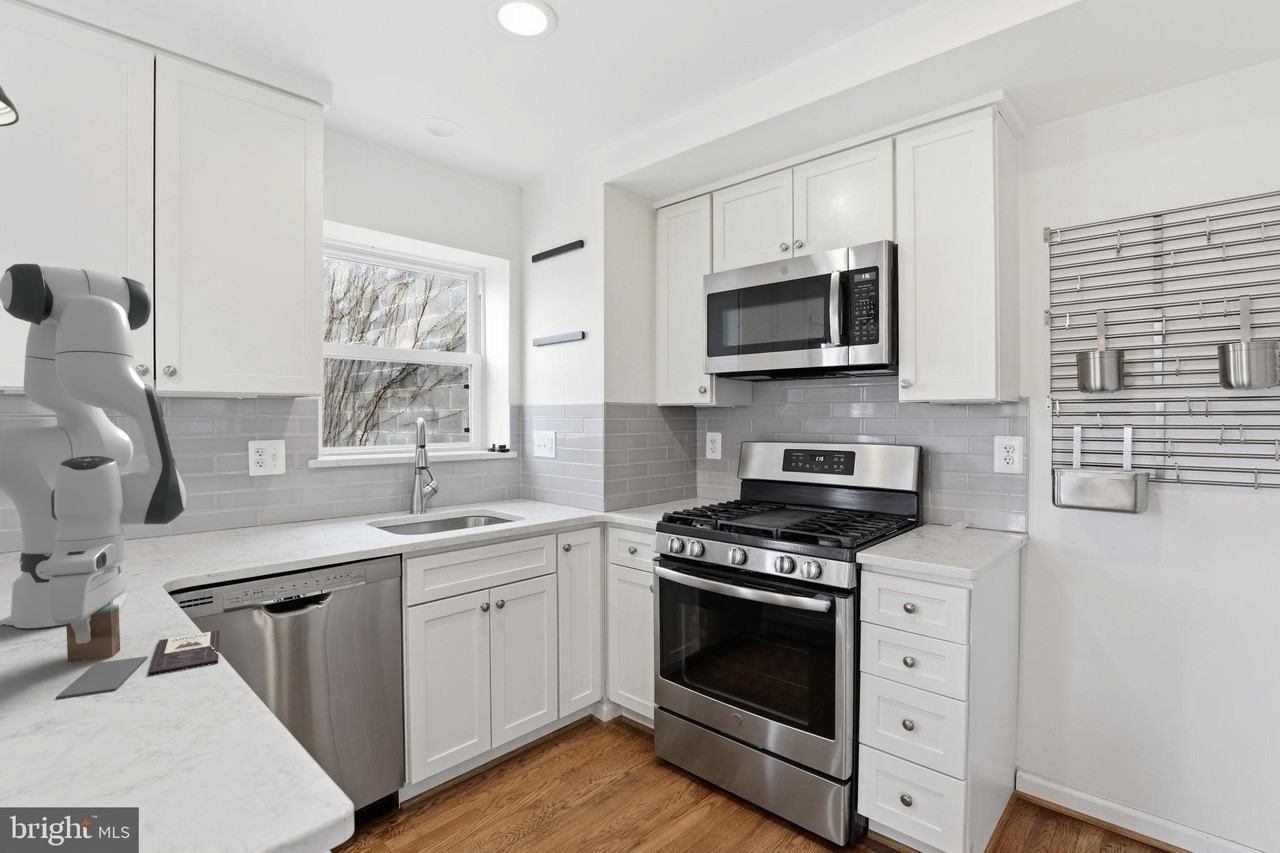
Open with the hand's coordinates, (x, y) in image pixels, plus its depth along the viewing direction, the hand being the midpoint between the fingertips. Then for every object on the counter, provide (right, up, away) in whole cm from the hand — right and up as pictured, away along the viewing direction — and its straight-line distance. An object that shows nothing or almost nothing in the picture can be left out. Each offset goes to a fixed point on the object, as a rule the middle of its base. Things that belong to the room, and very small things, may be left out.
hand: (93, 634), depth 110 cm
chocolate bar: (+15, -4, +1) cm, 16 cm away
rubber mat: (+9, -4, -9) cm, 14 cm away
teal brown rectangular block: (0, -4, 0) cm, 4 cm away
